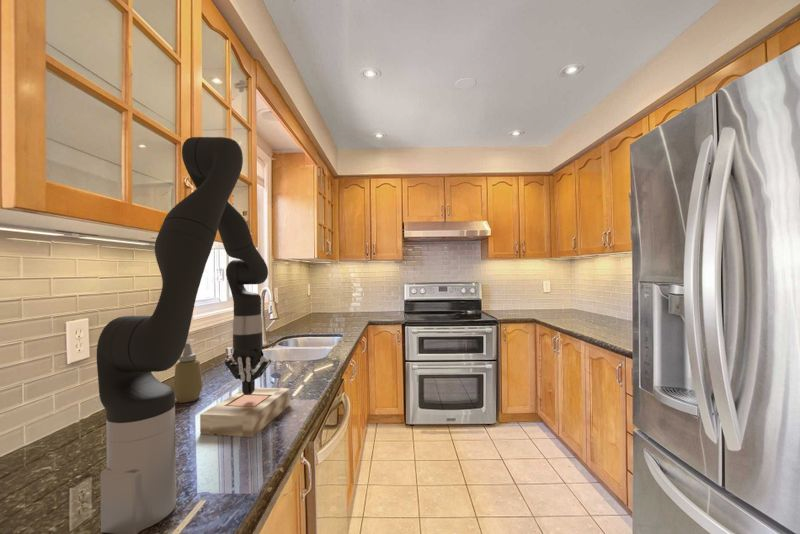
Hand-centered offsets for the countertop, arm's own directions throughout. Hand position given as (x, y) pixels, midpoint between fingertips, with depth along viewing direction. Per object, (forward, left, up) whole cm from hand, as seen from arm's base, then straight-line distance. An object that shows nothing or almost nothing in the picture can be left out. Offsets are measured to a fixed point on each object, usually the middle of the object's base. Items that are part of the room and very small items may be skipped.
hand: (248, 394), depth 95 cm
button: (0, 0, -6) cm, 6 cm away
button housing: (0, 0, -7) cm, 7 cm away
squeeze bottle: (+11, +28, -7) cm, 31 cm away
